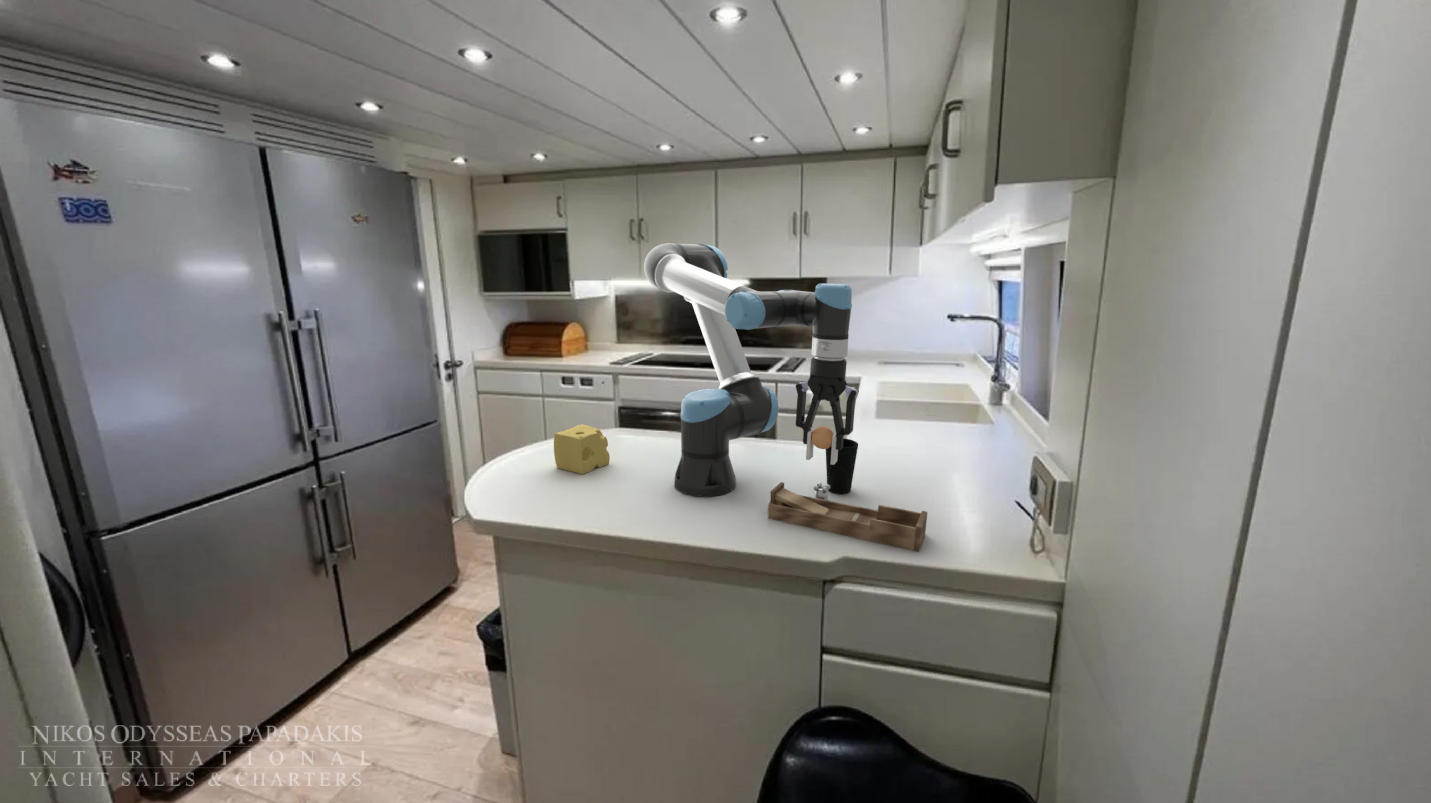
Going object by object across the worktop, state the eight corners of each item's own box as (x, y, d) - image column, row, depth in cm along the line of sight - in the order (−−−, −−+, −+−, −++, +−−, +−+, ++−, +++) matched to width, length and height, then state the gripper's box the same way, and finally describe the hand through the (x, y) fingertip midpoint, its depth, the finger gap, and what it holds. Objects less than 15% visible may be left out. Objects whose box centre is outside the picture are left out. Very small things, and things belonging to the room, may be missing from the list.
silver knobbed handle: (806, 507, 126) (807, 486, 125) (813, 499, 131) (814, 479, 130) (828, 511, 124) (829, 490, 123) (835, 503, 128) (836, 483, 127)
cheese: (610, 464, 154) (608, 429, 151) (581, 476, 145) (579, 438, 142) (582, 457, 159) (581, 423, 157) (553, 468, 150) (551, 432, 148)
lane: (768, 517, 121) (768, 492, 119) (781, 504, 128) (782, 480, 126) (919, 551, 107) (921, 523, 105) (925, 534, 114) (927, 507, 112)
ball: (807, 449, 124) (809, 428, 122) (815, 443, 128) (816, 422, 127) (830, 453, 121) (831, 431, 120) (836, 447, 126) (838, 425, 125)
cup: (855, 497, 132) (858, 448, 129) (822, 494, 134) (825, 446, 131) (854, 485, 139) (857, 439, 137) (823, 482, 141) (825, 437, 138)
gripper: (783, 355, 120) (777, 458, 126) (867, 364, 112) (857, 473, 118) (795, 351, 127) (789, 448, 133) (875, 359, 119) (865, 462, 125)
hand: (821, 460), depth 125 cm, fingers closed on ball, 5 cm apart
